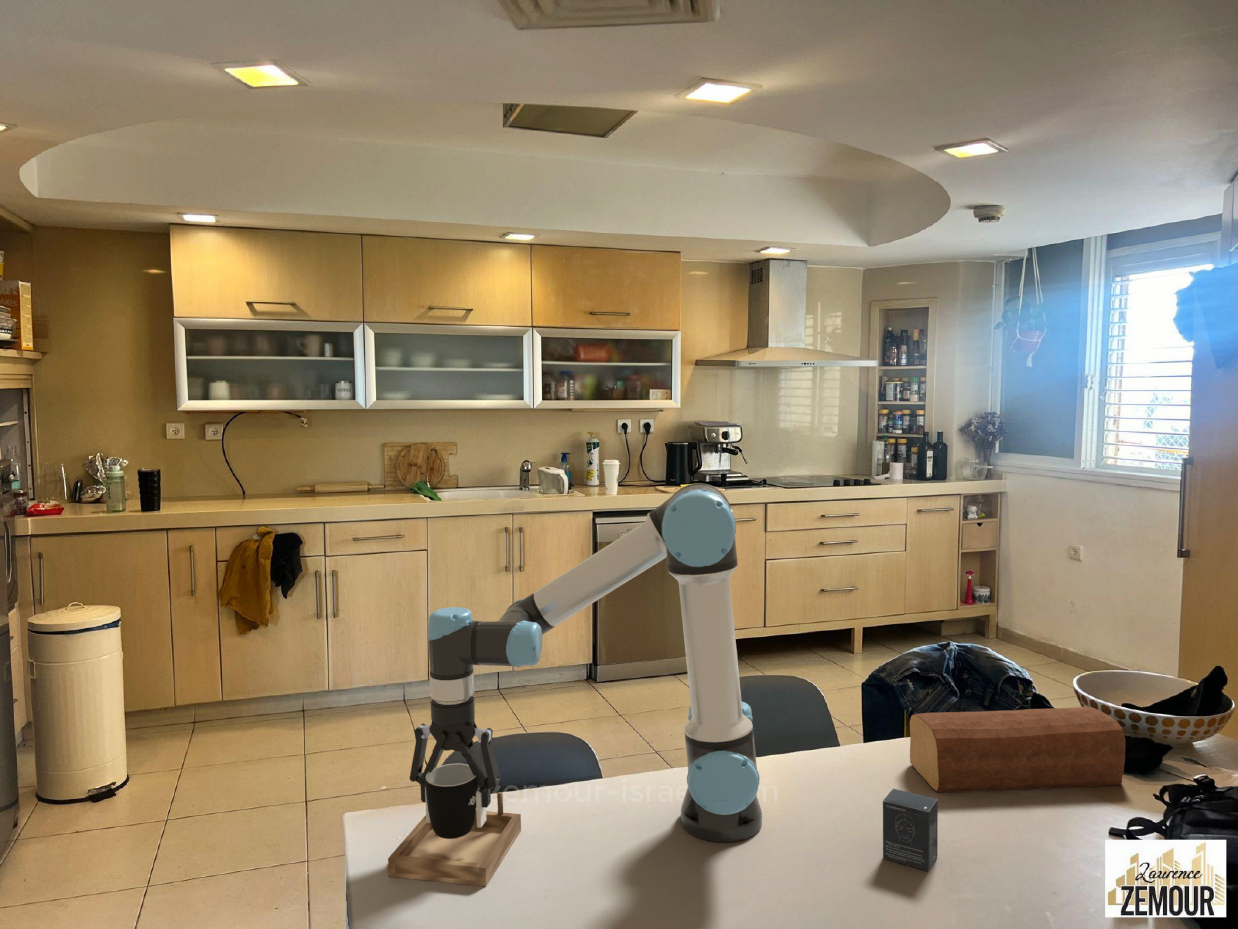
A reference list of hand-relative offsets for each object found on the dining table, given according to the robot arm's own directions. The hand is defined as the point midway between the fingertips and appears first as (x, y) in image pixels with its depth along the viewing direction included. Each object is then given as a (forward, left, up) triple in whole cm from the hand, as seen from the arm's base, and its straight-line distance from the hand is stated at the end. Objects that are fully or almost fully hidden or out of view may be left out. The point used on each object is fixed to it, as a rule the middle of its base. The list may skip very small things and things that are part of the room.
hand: (456, 821), depth 152 cm
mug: (0, 0, -1) cm, 1 cm away
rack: (0, 0, -6) cm, 6 cm away
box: (-78, -12, -6) cm, 79 cm away
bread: (-103, -48, -6) cm, 114 cm away
